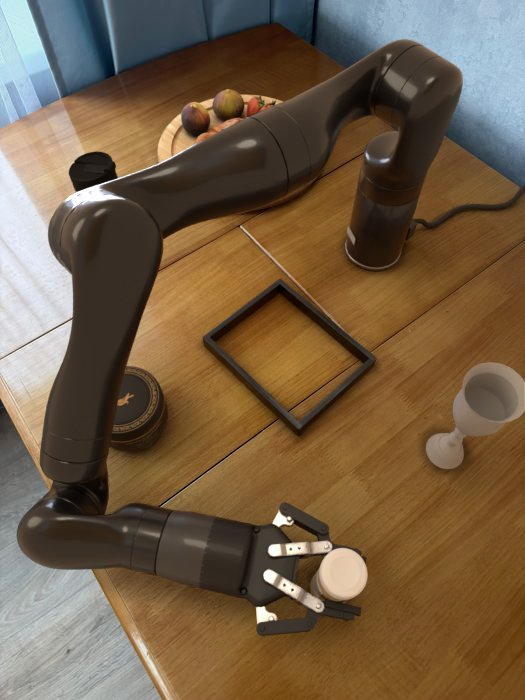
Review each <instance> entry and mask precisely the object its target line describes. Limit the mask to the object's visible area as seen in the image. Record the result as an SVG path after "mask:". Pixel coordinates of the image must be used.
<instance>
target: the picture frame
mask: <svg viewBox="0 0 525 700" xmlns="http://www.w3.org/2000/svg"><path fill="white" fill-rule="evenodd" d="M279 294H280V295H281V296H282V297H284V298H285V299H286V300H287V301H289V302H290V303H291V304H292V305H293V306H295V308H297V309H298V310H299V311H300V312H301V313H303V315H305V316H306V317H307V318H308V319H310V320H311V321H312V322H313V323H314V324H316V325H317V326H318V327H319V328H320V329H322V330H323V331H324V332H325V333H326V334H327V335H329V336H330V337H331V338H332V339H334V340H335V341H336V342H337V343H339V345H341V347H343V348H344V349H345V350H347V351H348V352H349V353H350V354H351V355H353V356H354V357H355V358H356V359H357V360H358V361H360V362H361V363H362V364H361V365H360V366H359V367H358V368H356V369H355V370H354V371H353V373H351V374H350V375H349V376H348V377H347V378H346V379H345V380H344V381H342V382H341V383H340V384H339V385H338V386H337V387H336V388H334V390H333V391H331V392H330V393H329V394H328V395H326V397H325V398H324V399H322V400H321V401H320V402H319V403H318V404H317V405H316V406H315V407H314V408H312V409H311V410H310V411H309V412H308V413H307V414H306V415H305V416H303V418H301V419H300V420H299V421H298V420H297V418H295V417H294V416H293V415H292V414H291V413H290V412H289V411H288V410H287V409H286V408H285V407H283V405H281V403H279V402H278V401H277V400H276V399H275V398H274V397H273V396H272V395H271V394H270V393H269V392H268V391H267V390H266V389H265V388H264V387H263V386H262V385H261V384H260V383H259V382H257V381H256V380H255V379H254V378H253V377H252V376H251V375H250V374H249V373H248V372H247V371H246V370H245V369H244V368H243V367H241V365H240V364H239V363H237V361H235V359H233V357H231V356H230V355H229V354H228V353H227V352H226V351H225V350H224V349H223V348H222V347H221V346H220V345H219V344H218V343H217V342H218V341H219V340H221V339H222V338H223V337H225V336H226V335H227V334H228V333H230V332H231V331H232V330H234V329H235V328H236V327H238V326H239V325H240V324H241V323H244V321H245V320H247V319H248V318H249V317H251V316H252V315H253V314H255V313H256V312H258V310H260V309H261V308H262V307H263V306H265V305H266V304H267V303H269V302H270V301H271V300H273V299H274V298H276V297H277V296H278V295H279ZM201 338H202V343H203V347H204V348H206V349H207V351H209V353H211V354H212V355H213V356H214V357H215V359H217V360H218V361H219V362H220V363H221V364H222V365H223V366H224V367H225V368H226V369H227V370H228V371H229V372H230V373H231V374H232V375H233V376H235V378H236V379H237V380H238V381H240V383H242V384H243V385H244V386H245V387H246V388H247V389H248V390H249V391H250V392H251V393H252V394H253V396H255V397H256V398H257V399H258V400H259V401H260V402H261V403H262V404H263V405H264V406H266V407H267V408H268V409H269V411H271V412H272V413H273V415H275V416H276V417H277V418H278V419H279V420H280V421H281V422H282V423H283V424H284V425H285V426H286V427H287V428H288V429H289V430H290V431H291V432H292V433H293V434H294V435H295V436H296V437H299V436H300V435H302V433H304V431H306V430H307V429H308V428H309V427H310V426H311V425H312V424H314V422H316V421H317V420H318V419H319V418H320V417H321V416H322V415H323V414H324V413H325V412H327V410H329V409H330V408H331V407H332V406H333V405H334V404H335V403H337V401H338V400H340V399H341V398H342V397H343V396H344V395H345V394H346V393H348V391H350V390H351V388H352V387H354V386H355V385H356V384H357V383H358V382H359V381H361V380H362V378H364V377H365V376H366V375H367V374H368V373H370V371H371V370H372V369H373V368H374V367H375V366H376V363H377V360H378V358H377V356H375V355H374V354H373V353H371V352H370V351H369V350H368V349H367V348H365V347H364V346H363V345H362V344H360V342H359V341H357V340H356V339H354V338H353V337H352V336H351V335H350V334H349V333H347V332H346V331H345V330H344V329H342V328H341V326H339V325H338V324H337V323H335V322H334V321H333V320H331V319H330V318H329V317H328V316H327V315H326V314H324V313H323V312H322V311H320V309H318V308H317V307H315V306H314V305H313V304H312V303H311V302H310V301H309V300H307V299H306V298H305V297H304V296H302V295H301V294H300V293H299V292H297V291H296V290H295V289H294V288H292V286H290V285H289V284H287V283H286V282H285V281H284V280H283V279H282V278H279V279H277V280H276V281H275V282H273V283H272V284H270V285H269V286H268V287H267V288H265V289H264V290H263V291H261V292H260V293H258V294H257V295H256V296H254V297H253V298H252V299H251V300H249V301H248V302H246V303H245V304H244V305H243V306H242V307H240V308H239V309H237V310H235V312H233V313H232V314H230V316H228V317H227V318H225V319H224V320H223V321H222V322H220V323H218V324H217V325H216V326H215V327H213V328H212V329H211V330H209V331H208V332H207V333H206V334H204V335H202V336H201Z"/></svg>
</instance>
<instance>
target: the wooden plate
mask: <svg viewBox="0 0 525 700" xmlns="http://www.w3.org/2000/svg"><path fill="white" fill-rule="evenodd" d="M281 102H284V101H283V100H280V99H277V98H275V97H269V96H266V95H265V96H264V95H258V94H240V93H239V91H236V90H234V89H232V88H231V89H230V88H226V89H224V90H221V91H220V92H218V93H217V94H216V95H215V96H214V98H209V99H206V100H204V101H201V102H196V101H193V102H189V103H187V104H186V105H185V106H184V107H183V108H182V111H181V113H179V114H177V116H176V117H175V118H173V119H172V120H171V121H170V123H169V124H168V125H167V126H166V127H165V128H164V130H163V132H162V134H161V135H160V138H159V140H158V144H157V149H156V152H157V153H156V156H157V157H156V158H157V164H159V163H161V162H164V161H166V160H168V159H169V158H171V157H173V156H175V155H177V154H179V153H180V152H182V151H184V150H185V149H187V148H189V147H191V146H193V145H195V144H196V143H198V142H200V141H202V140H204V139H206V138H208V137H210V136H212V135H214V134H216V133H218V132H220V131H222V130H224V129H226V128H228V127H230V126H232V125H233V124H235V123H237V122H239V121H241V120H243V119H245V118H247V117H249V116H251V115H254V114H256V113H258V112H260V111H262V110H264V109H267V108H269V107H271V106H274V105H276V104H279V103H281ZM315 181H316V179H315V180H313V181H312V182H311V183H309V184H307V185H306V186H304V187H302V188H300V189H299V190H297V191H295V192H293V193H291V194H289V195H287V196H286V197H284V198H282V199H280V200H278V201H276V202H274V203H272V204H269V205H267V206H264V207H261V208H258V209H255V210H254V211H258V210H263V209H264V210H265V209H268V208H269V209H270V208H272V207H275V206H279V205H281V204H283V203H286V202H288V201H290V200H292V199H294V198H297V196H300V195H301V194H302V193H303V192H305V191H306V190H307V189H308V188H309V187H310V186H311V185H313V183H314V182H315Z"/></svg>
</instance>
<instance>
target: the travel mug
mask: <svg viewBox="0 0 525 700" xmlns="http://www.w3.org/2000/svg"><path fill="white" fill-rule="evenodd" d="M116 169H117V164H116V161H114V159H113V158H112V156H111V155H110V154H109V153H106V152H105V151H98V150H97V151H90V152H86V153H83V154H81V155H79V156H78V157H76V159H74V161H73V163H72V164H71V165H70V166H69V169H68V176H69V179H70V181H71V184H72V188H73V190H74V192H75V193H76V192H78V191H81V190H84V189H87V188H90V187H93V186H96V185H99V184H103V183H106V182H109V181H112V180H115V179H118V178H119V176H118V174H117V172H116Z"/></svg>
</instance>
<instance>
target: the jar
mask: <svg viewBox="0 0 525 700" xmlns="http://www.w3.org/2000/svg"><path fill="white" fill-rule="evenodd" d="M168 419H169V410H168V405H167V402H166V399H165V393H164V391H163V389H162V387H161V385H160V383H159V381H158V380H157V378H155V376H154V375H153V374H152V373H151V372H149V371H147V370H146V369H144V368H141V367H138V366H134V365H133V366H132V365H127V366H126V369H125V373H124V377H123V381H122V385H121V389H120V394H119V398H118V403H117V409H116V414H115V420H114V426H113V432H112V437H111V443H110V449H113V450H115V451H119V452H123V453H137V452H141V451H144V450H146V449H148V448H150V447H151V446H153V445H154V444H155V443H156V442H157V441H158V440H160V438H161V437H162V436H163V434H164V432H165V430H166V427H167V424H168Z"/></svg>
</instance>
